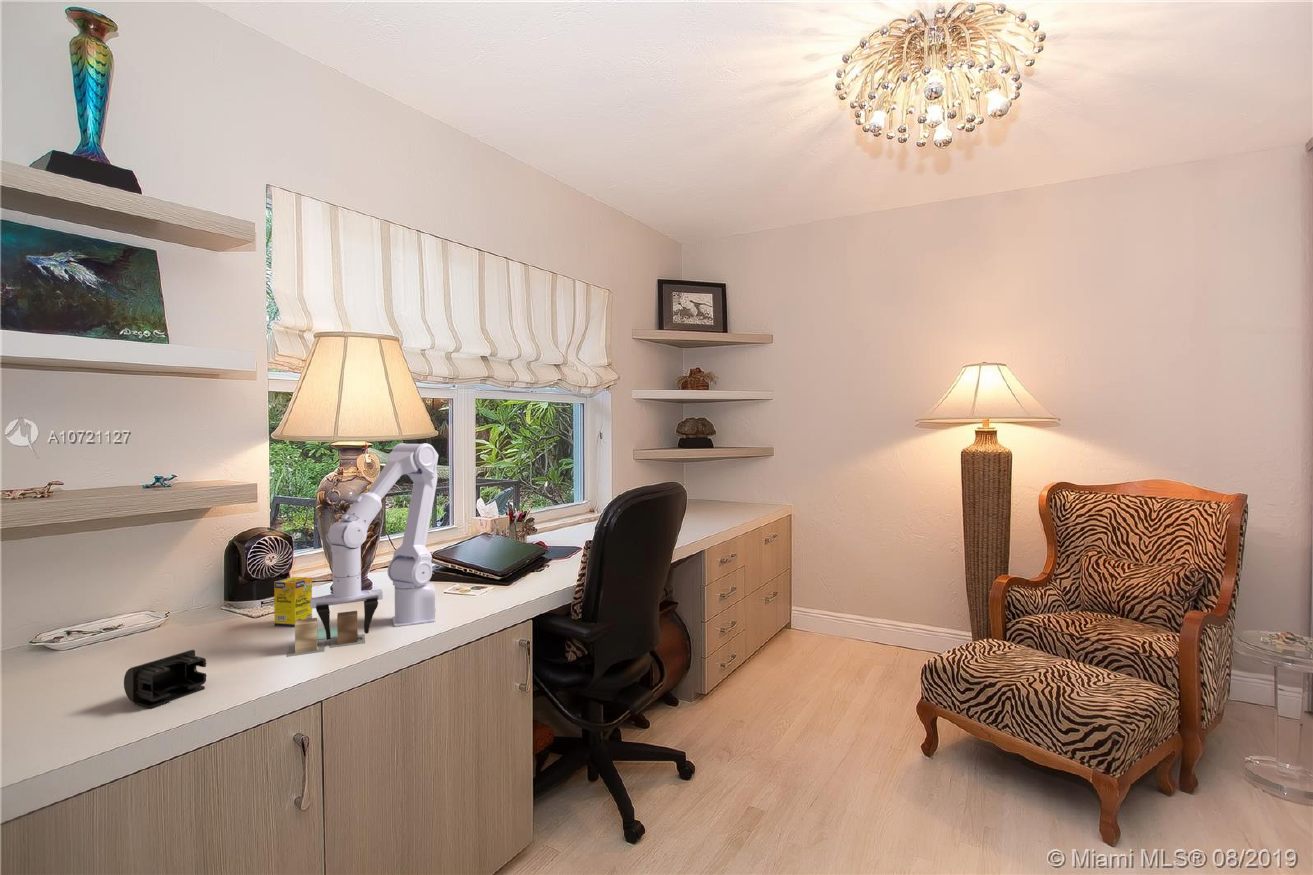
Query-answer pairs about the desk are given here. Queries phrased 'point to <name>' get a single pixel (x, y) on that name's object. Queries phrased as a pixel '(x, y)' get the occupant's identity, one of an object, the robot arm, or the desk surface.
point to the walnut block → (347, 627)
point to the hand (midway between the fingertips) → (347, 635)
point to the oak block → (306, 635)
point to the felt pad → (322, 633)
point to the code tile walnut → (335, 643)
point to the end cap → (165, 680)
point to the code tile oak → (319, 649)
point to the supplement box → (292, 600)
